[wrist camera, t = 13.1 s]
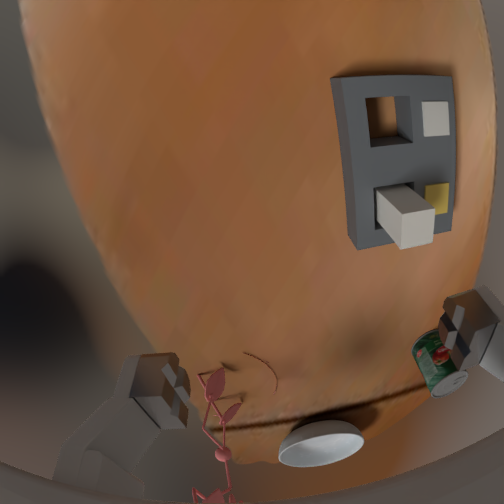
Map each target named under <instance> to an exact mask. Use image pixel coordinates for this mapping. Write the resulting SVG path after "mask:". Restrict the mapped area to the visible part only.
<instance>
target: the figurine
mask: <svg viewBox="0 0 504 504" xmlns="http://www.w3.org/2000/svg"><path fill="white" fill-rule="evenodd" d="M244 354H246V353H244ZM247 355H249V354H247ZM250 356H252V355H250ZM253 357H254V356H253ZM255 358H256V357H255ZM257 359H258V358H257ZM259 360H260V359H259ZM262 362H263V361H262ZM266 362H267V361H266ZM263 363H264V362H263ZM265 364H266V363H265ZM266 365H267V364H266ZM267 366H268V365H267ZM268 367H269V366H268ZM269 368H270V367H269ZM270 369H271V368H270ZM273 373H274V372H273ZM197 377H198V378H199V380H200V382H201V384H202V385H203V387H204V389H205V398H206V400H207V401H209V404H208V408H207V411H206V415H205V419H204V422H203V426H202V428H203V429H202V430H203V431H204V432H205V433H206V434H207V435H208V436H209V437H210V438H211V439H212V440H213V441H214V442H215V443H216V444H217V445H218V446H219V448H218V449H217V450H216V452H215V456H216V458H217V459H218V460H219V461H224V462H225V465H226V472H227V479H228V486H229V488H228V489H226V490H224V491H222V492H221V491H220V489H219V488H217V489H216V490H215V491H214V492H213V493H212V494H210V495H209V496H208V498H206V497H205V496H204V495H202V494H201V493H200V492H199V491H197V490H196V489H195V488H192V493H193V499H194V503H198V500H197V494H198V495H199V496H200V497H201V498H202V499H203V502H202V503H225V501H224V498H223V494H224V493H227V492H229V491H231V490H230V489H231V488H232V485H231V479H230V474H229V469H228V464H227V461H228V460H229V459H230V458H231V451H230V450H229V449H228V448H227V447H225V424H226V423H227V422H229V421H230V420H231V419H232V418H233V416H234V415H235V414H236V412H237V411H238V409H239V408H240V406H241V404H242V403H237V404H234V405H233V406H231V407H230V408H229V409H228V410H227V411H226V412H225V414H224V415H223V416H222V415H221V413H220V412H219V410H218V409H217V407H216V405H215V404H214V401H216V400H217V399H218V398H219V397H220V395H221V394H222V392H223V390H224V386H225V374H224V368H221V369H219V370H218V371H216V372H215V373H214V374H212V375H211V376H210V378H209V379H208V380H207V383H206V385H205V383H204V381H203V379H202V378H201V376H200V374H198V375H197ZM276 387H277V386H276ZM275 391H276V390H275ZM274 393H275V392H274ZM273 395H274V394H273ZM211 404H212V406H213V407H214V409H215V410H216V412H217V414H218V415H214V416H219V417H220V419H221V420H220V422H219V424H220V425H224V430H223V447H222V446H221V445H220V444H219V443H218V442H217V441H216V440H215V439H214V438H213V437H212V436H211V435H210V434H209V433H208V432H207V431H206V430H205V429H204V427H205V423H206V420H207V416H208V412H209V409H210V405H211ZM229 503H236V501H235V498H234V496H233V495H232V494H230V496H229ZM239 503H244V502H243V501H242V500H241V501H240V502H239Z"/></svg>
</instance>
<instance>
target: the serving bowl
mask: <svg viewBox="0 0 504 504" xmlns="http://www.w3.org/2000/svg"><path fill="white" fill-rule="evenodd" d="M363 444H364V438H363V436H362V434H361V432H360V431H359V429H358V428H357V427H355V426H354V425H352V424H350V423H348V422H345V421H340V420H325V421H318V422H314V423H310V424H307V425H304V426H302V427H300V428H298V429H296V430H294V431H292V432H291V433H290V434H289V435H287V436H286V438H285V439H284V440H283V442H282V443H281V446H280V449H279V460H280V461H281V462H282V463H283V464H286V465H290V466H295V467H312V466H320V465H325V464H329V463H333V462H336V461H339V460H342V459H344V458H346V457H348V456H350V455H352V454H354V453H355V452H356V451H358V450H359V449H360V448H361V447H362V445H363Z"/></svg>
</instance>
